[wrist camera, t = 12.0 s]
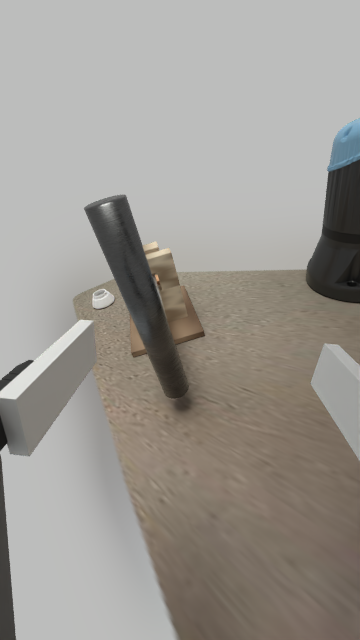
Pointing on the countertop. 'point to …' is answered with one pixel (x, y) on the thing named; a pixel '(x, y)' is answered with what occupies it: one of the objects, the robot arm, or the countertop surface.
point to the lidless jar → (102, 299)
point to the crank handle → (138, 288)
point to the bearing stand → (169, 301)
